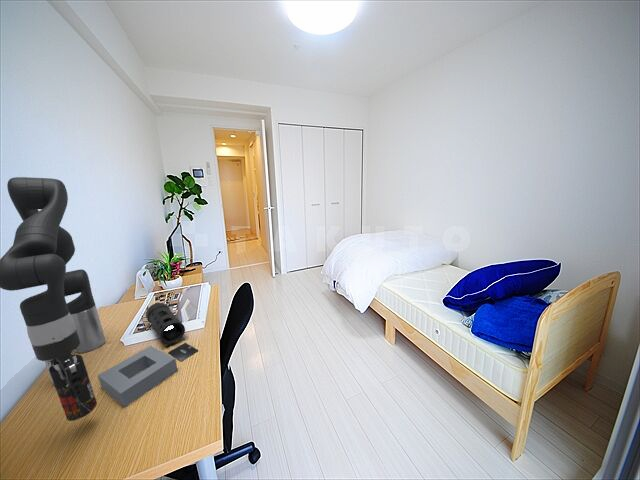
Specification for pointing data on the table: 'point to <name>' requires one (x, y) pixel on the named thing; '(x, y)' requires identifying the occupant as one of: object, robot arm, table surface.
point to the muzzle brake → (165, 323)
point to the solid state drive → (183, 352)
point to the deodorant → (80, 404)
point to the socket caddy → (131, 389)
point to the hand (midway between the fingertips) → (73, 390)
